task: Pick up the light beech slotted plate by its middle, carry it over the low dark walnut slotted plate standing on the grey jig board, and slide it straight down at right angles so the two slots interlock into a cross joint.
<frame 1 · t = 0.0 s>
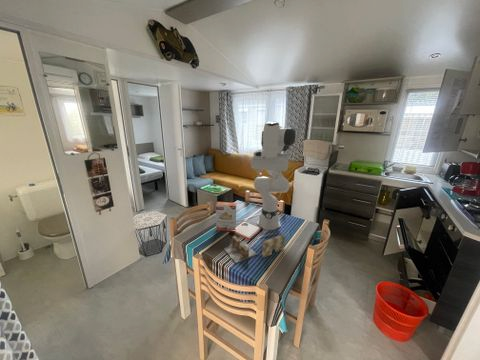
hand: (268, 177, 112), 48 cm above the table, fingers open, 8 cm apart
jig: (240, 252, 124), on the table
cracker box: (226, 229, 149), on the table
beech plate: (273, 252, 125), on the table
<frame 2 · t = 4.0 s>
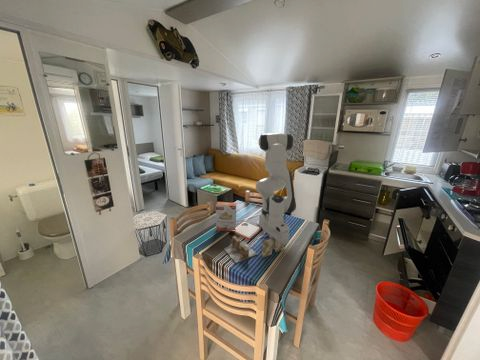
hand: (273, 242, 122), 7 cm above the table, fingers closed on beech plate, 2 cm apart
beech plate: (273, 252, 125), on the table, touching gripper
everything else where it was.
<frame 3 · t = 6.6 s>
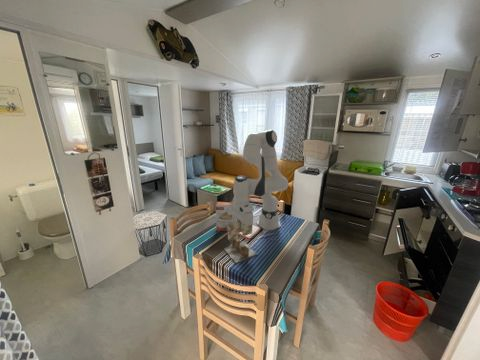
hand: (240, 225, 118), 19 cm above the table, fingers closed on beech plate
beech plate: (240, 236, 120), point 12 cm above the table, touching gripper
everything else where it was.
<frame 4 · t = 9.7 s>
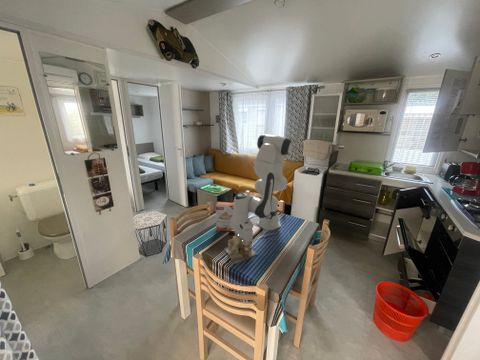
hand: (240, 240, 122), 8 cm above the table, fingers open, 6 cm apart
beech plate: (240, 250, 124), point 1 cm above the table, touching jig
everything else where it was.
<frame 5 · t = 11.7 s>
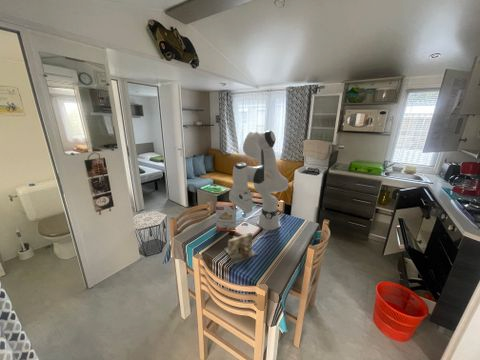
hand: (239, 213, 119), 26 cm above the table, fingers open, 8 cm apart
nothing on the table moved.
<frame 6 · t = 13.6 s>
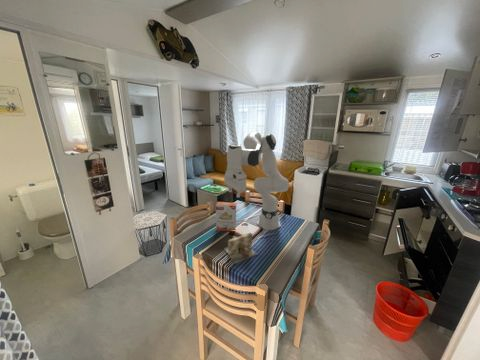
hand: (234, 194, 121), 35 cm above the table, fingers open, 8 cm apart
nothing on the table moved.
at the end: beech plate 0.1 cm off-centre on the jig, point 0.8 cm above the jig's base; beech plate tilted 0°; the gripper is holding nothing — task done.
